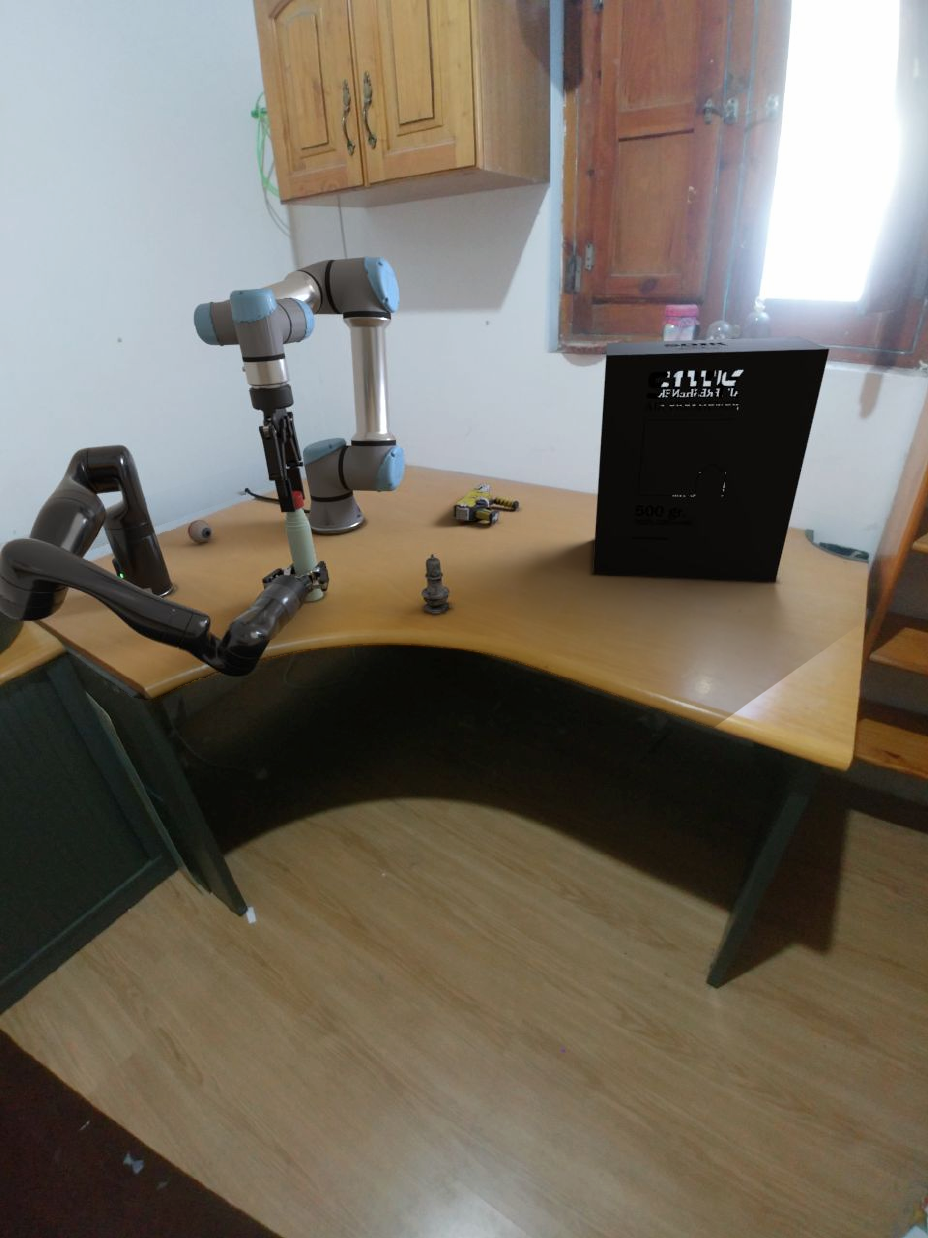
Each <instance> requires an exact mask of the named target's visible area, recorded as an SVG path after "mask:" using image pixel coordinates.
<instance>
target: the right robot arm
mask: <svg viewBox="0 0 928 1238" xmlns="http://www.w3.org/2000/svg"><path fill="white" fill-rule="evenodd" d="M399 290H400V289H399V285H398V280H397V278H396V275H395V272H394V269H393V268H392V266H391V264H390V263H389V261H387V260H386V259H385V258H384V257H378V256H376V257H375V256H363V257H353V258H340V259H339V258H338V259H325V260H321V261H318V262H314V263H312V264H309V265H307V266H304V267H302V268H299V269H296V270H294V271H291V272H289V273H288V274H287V275H286V276H285V277H284V278H283V280H281V281H278V282H275V283H272V284H269V285H266V286H263V287H260V288H251V289H236V290H232V291H231V292H230V294H229V299H226V300H223V301H216V302H214V301H209V302H205V303H204V302H203V303H200V304H198V305H197V306H196V308H195V309H194V312H193V325H194V327H195V331H196V334H197V336H198V337H199V338H200V340H201V341H202V342H204V343H205V344H207V345H209V346H220V347H224V346H237V345H238V346H239V350H240V353H241V360H242V364H243V366H242V367H241V369H242V372H244V373H245V378H246V381H247V384H248V385H249V386H250V387H249V389H248V392H249V397H250V403H251V406H252V408H253V409H254V410H256V411H261V412H262V416H263V417H262V418H263V420H262V424H263V425H259V426H258V431H259V435H260V438H261V442H262V448H263V453H264V458H265V464H266V469H267V470H266V471H267V474H268V480H269V481H270V482H274V484H275V490H276V495H277V498H275V497H268V496H264V495H259V494H256V493H254V492H252V491H251V490H250V488H249V487H245V488H244V493H247V494H248V495H249V496H252V497H253V498H257V499H260V500H264V501H269V502H275V503H278V504H279V507H280V513H286V512H295V511H296V509H295V504H294V499H293V494H292V491H300V492H302V496H303V501H305V500H306V496H305V495H306V494H305V489H304V484H303V480H302V475H301V469H300V468H303V467H304V471H305V477H306V481H307V486H308V492H309V498H310V507H309V509H304V508H303V507H302V509H303V510H304V513H305V514H308V519H307V520H308V521H309V524H310V527H311V533H314V534H317V535H323V536H324V535H325V536H327V535H329V536H331V535H339V534H340V535H341V534H345V533H350V532H353V531H355V530H357V529H359V528H361V527H362V526H363V525H364V523H365V519H364V514H363V512H362V508H361V507H360V506H361V505H360V504H358V501H357V500H356V498H355V495H354V492H355V491H357V492H377V493H381V492H393V491H395V490H397V489H398V487H400V485H401V482H402V481H403V478H404V474H405V469H406V468H405V467H406V454H405V451H404V448H403V447H402V446H400V445H398V444H397V437H396V436H395V435H393V433H392V432H391V425H390V403H389V380H388V379H389V378H388V357H387V355H388V354H387V333H386V331H387V328H388V327H389V326H390V325H391V323H392V314H394V313H396V312H397V311H398V310H399V307H400V306H399V305H400V291H399ZM316 315H342V321H343V323H344V324H345V325H346V326H347V327H348V329H349V336H350V351H351V352H350V353H351V367H352V383H353V385H352V386H353V399H354V401H353V402H354V414H355V415H354V416H355V433H354V434H353V435H352V436H351V438H350V445H349V444H347V441H346V439H345V438H343V437H333V438H327V439H326V438H325V439H322V440H318V441H315V442H313V443H309V444H308V445H306V446H305V447H304V448H303V450H302V454H301V449H300V445H299V441H298V436H297V431H296V426H295V422H294V421H295V420H294V412H293V411H287V408H290V407H292V406H293V405H294V403H295V401H294V396H293V390H292V385H290V384H289V383H288V382H289V381H290V380H291V378H290V372H289V368H288V367H289V366H288V362H287V358H286V354H285V347H284V345H288V344H292V343H293V344H295V343H301V342H302V341H305V340H306V339H308V338H309V337H310V336H312V334H313V332H314V329H315V316H316ZM302 457H303V458H302ZM302 460H303V461H302Z"/></svg>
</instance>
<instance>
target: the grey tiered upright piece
mask: <svg viewBox="0 0 928 1238" xmlns="http://www.w3.org/2000/svg"><path fill="white" fill-rule="evenodd" d="M425 570H426V573H425V575H424V578H426V587H424V588H423V589H422V590H421V591H420V595H421V596H422V598H423V600H424V602H425V604H424V606H423V610H424V611H425V612H426V613H429V614H442V613H445V612H447V611H448V610H449V609H450V604H449V603H448V599H449V595H450V593H451V590H450V589H449V588H448V586H445V585H443V576H444V573H443V572H442V568H441V560H440V559H439V558H438V557H435V555H434V554H433V553H432V554H431V555H430V557H429V558H427V559H426V561H425Z"/></svg>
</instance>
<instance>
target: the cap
mask: <svg viewBox="0 0 928 1238" xmlns="http://www.w3.org/2000/svg"><path fill="white" fill-rule="evenodd" d="M292 494H293V499H294V504H295V509H299V508H303V507H304V506H305V503H304V501H305V500H303V496H302V492H300V491H292Z"/></svg>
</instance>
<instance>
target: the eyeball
mask: <svg viewBox="0 0 928 1238" xmlns="http://www.w3.org/2000/svg"><path fill="white" fill-rule="evenodd" d="M187 534H188V537H189V538H190V539H191V540H192V541H193V542H196V543H198V544H199V543H201V544H202V543H207V542H208V541H209V540H211V538H212V536H213V527H212V526H211V524H210V523H209V522H207V521H205V520H201V519H197V520H193V521H192V522H191V523H190V524H189V525H188V527H187Z"/></svg>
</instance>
